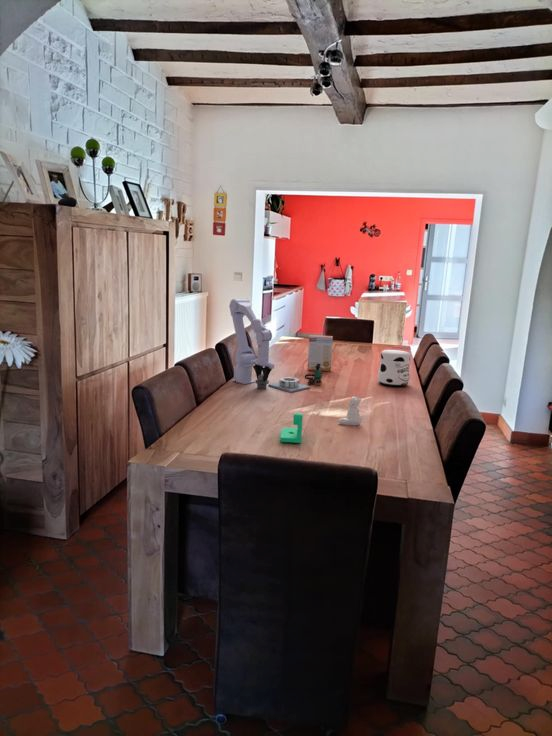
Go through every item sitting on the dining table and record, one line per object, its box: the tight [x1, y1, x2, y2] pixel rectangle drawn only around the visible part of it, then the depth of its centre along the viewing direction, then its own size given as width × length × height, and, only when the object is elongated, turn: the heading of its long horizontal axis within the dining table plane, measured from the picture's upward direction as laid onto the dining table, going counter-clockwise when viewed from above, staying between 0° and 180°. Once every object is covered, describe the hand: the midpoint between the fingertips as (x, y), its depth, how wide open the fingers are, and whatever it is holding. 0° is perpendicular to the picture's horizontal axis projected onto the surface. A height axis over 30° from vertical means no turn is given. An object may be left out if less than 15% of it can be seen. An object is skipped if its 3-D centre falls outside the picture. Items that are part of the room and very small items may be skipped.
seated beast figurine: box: [337, 396, 363, 427], centre depth 224 cm, size 10×9×12 cm
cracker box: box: [307, 334, 334, 372], centre depth 321 cm, size 14×6×21 cm, turn 84°
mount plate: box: [268, 381, 310, 394], centre depth 280 cm, size 16×14×1 cm
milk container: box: [377, 349, 411, 387], centre depth 295 cm, size 17×17×18 cm
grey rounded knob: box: [254, 373, 270, 390], centre depth 275 cm, size 7×7×7 cm
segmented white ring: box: [278, 376, 300, 388], centre depth 279 cm, size 10×10×3 cm
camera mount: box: [279, 412, 303, 444], centre depth 203 cm, size 12×8×10 cm, turn 175°
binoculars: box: [304, 364, 324, 386], centre depth 290 cm, size 9×11×10 cm
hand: (262, 379), depth 274 cm, fingers closed on grey rounded knob, 4 cm apart
